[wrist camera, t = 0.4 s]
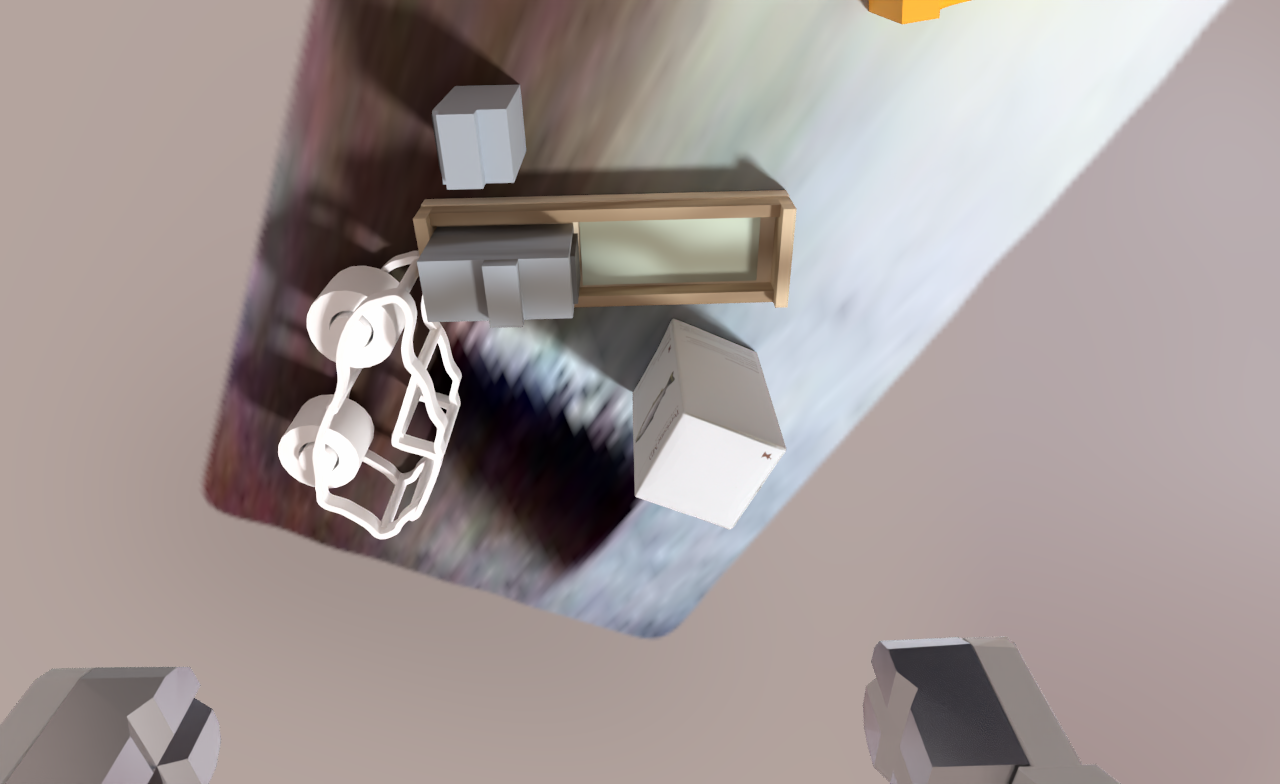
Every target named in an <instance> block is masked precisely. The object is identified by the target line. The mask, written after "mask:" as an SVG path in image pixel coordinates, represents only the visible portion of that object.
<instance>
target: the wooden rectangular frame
mask: <svg viewBox="0 0 1280 784" xmlns="http://www.w3.org/2000/svg"><path fill="white" fill-rule="evenodd" d="M795 219H796V207H795V206H794V204H793V203H792V201H791V199H790V198H789V194H788V193H787V191H786V190H765V191H726V192H687V193H648V194H609V195H570V196H531V197H492V198H453V199H425V200H424V201H423V203H422V204H421V207H420V209H419V210H418V212H417V213H416V215H415V216H414V218H413V223H414V228H415V234H416V239H417V245H418V251H419V256H420V257H419V259H418V261H417V266H418V271H419V277H420V282H421V288H422V293H423V299H424V304H425V309H426V315H427V320H428V322H454V321H489V323H490V328H500V327H523V324H524V320H526V319H562V318H573V312H574V307H605V306H641V305H678V304H714V303H750V302H773V303H774V305H775V308H778V307H787V306H788V295H789V284H790V273H791V262H792V251H793V240H794V230H795Z"/></svg>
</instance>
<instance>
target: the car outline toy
mask: <svg viewBox="0 0 1280 784" xmlns="http://www.w3.org/2000/svg"><path fill="white" fill-rule="evenodd" d="M419 257H420V256H419V251H411V252H408V253H404V254H401V255H397V256H395V257H393V258H391V259H390V260H389V261H388V262H387V263H385V265H384V266H383V267H382V268H381V269H378V268H374V267H369V266H365V265H364V266H351V267H349V268H346V269H344V270H342V271H340V272H339V273H338V274H337V275H336V276H335V277H333V278H332V279H331V281H330V282H329V283H328V285H327V286H326V287H325V288H324V290H323V291H322V292H321V294H320V295H319V296H318V297H317V299H316V300H315V301H314V302H313V304H312V305H311V308H310V310H309V312H308V314H307V330H308V333H309V336H310V339H311V341H312V342H313V344H314V345H315V346H316V348H317V349H318V350H319V351H320V352H321V353H322V354H323V355H325V356H326V357H327V358H328V359H330V360H332V361H334V362H336V368H337V378H338V382H337V388H336V391H335V393H334V395H332V394H330V395H319V396H317V397H314V398H312V399H309V400H308V401H307V402H306V403H305V404H304V405H303V406H302V407H301V409H300V410H299V412H298V413H297V415H296V417H295V418H294V420H293V421H292V423H291V424H290V426H289V428H288V429H287V431H286V432H285V434H284V435H283V437H282V439H281V441H280V443H279V445H278V456H279V458H280V461H281V464H282V466H283V467H284V468H285V469H286V471H287V472H288V473H289V474H290V475H291V476H293V477H294V478H295V479H297V480H298V481H300V482H302V483H304V484H307V485H309V486H312V487H315V490H316V496H317V502H318V504H319V505H320V506H321V507H322V508H324V509H326V510H328V511H331V512H335V513H339V514H341V515H343V516H345V517H347V518H349V519H351V520H353V521H354V522H356V523H358V524H359V525H361V526H363V527H364V528H366V529H367V530H368V531H369V532H370V533H371V534H372V535H373V536H374V537H375V538H378V539H387V538H390V537H393V536H395V535H396V534H398V533H399V532H400V530H401V528H402V526H403V525H404V524H405V523H406V522H407V521H408V520H410V521H414V520H416V519H418V518H419V517H420V515H421V513H422V511H423V509H424V507H425V505H426V503H427V501H428V499H429V496H430V494H431V491H432V489H433V487H434V484H435V482H436V479H437V476H438V473H439V470H440V467H441V464H442V460H443V456H444V454H445V451H446V448H447V445H448V441H449V438H450V435H451V432H452V429H453V426H454V423H455V419H456V416H457V413H458V410H459V407H460V403H461V402H460V397H459V395H458V387H459V383H460V380H461V377H462V376H461V372H460V370H459V368H458V367H457V365H456V364H455V362H454V360H453V357H452V354H451V349H450V344H449V341H448V337H447V335H446V332H445V330H444V329H443V327H442V326H441V324H440V323H439V322H428V320H427V315H426V309H425V304H424V299H423V295H422V301H421V313H422V318H423V321H424V323H425V325H426V326H427V327H428V329H429V330H430V331H429V334H428V336H427V338H426V340H425V343H424V345H423V347H422V349H421V352H420V354H419V356H418V358H417V357H416V356H415V353H414V349H413V334H414V329H415V325H416V319H417V309H416V304H415V301H414V299H413V298H412V296H411V295H410V294H409V293H410V291H411V289H412V287H413V285H414V284H415V282H416V280H417V278H418V276H419V271H418V266H417V261H418V259H419ZM408 264H411V265H410V266H409V268H408V270H407V272H406V273H405V275H404V277H403V278H402V280H401V282H400V283H399V282H398V281H397V280H396V279H395V278H393V277H392V276H391V275H390V274H388V273H389V272H390V271H391V270H393V269H395V268H398V267H401V266H404V265H408ZM404 326H405V330H404V334H403V338H402V346H401V353H402V360H403V363H404V366H405V368H406V369H407V371H408V372H409V373H410V374H411V378H410V381H409V385H408V388H407V391H406V394H405V397H404V401H403V404H402V407H401V411H400V414H399V417H398V420H397V423H396V426H395V429H394V431H393V433H392V446H393V447H396V448H398V449H400V450H403V451H406V452H410V453H413V454H417V455H421V456H424V457H423V458H422V459H421V460H420V461H419V462H418V463H417V464H416V467H415V469H413V470H412V471H410V472H407V473H401V472H400V471H399V470H398V469H397V468H396V467H395V466H394V465H393V464H392V463H390V462H389V461H387V460H386V459H384V458H382V457H381V456H379V455H378V454H376V453H374V452H372V451H371V450H368V448H369V446H370V444H371V442H372V439H373V437H374V425H373V422H372V419H371V417H370V416H369V414H368V413H367V412H366V410H365V409H364V408H363V407H361V406H360V405H359V404H358V403H356V402H355V401H353V400H350V399H349V395H350V391H351V388H352V386H353V384H354V382H355V380H356V379H357V377H358V375H359V373H360V372H361V370H362V368H365V367H371V366H374V365H376V364H379V363H381V362H382V361H383V360H385V359H386V358H387V357H388V356H389V355H390V353H391V351H392V350H393V348H394V346H395V344H396V342H397V340H398V338H399V336H400V334H401V332H402V330H403V328H404ZM437 343H438V345H439V348H440V351H441V355H442V360H443V364H444V367H445V370H446V371H447V373H448V375H449V376H450V377H451V379H452V381H453V382H452V386H451V391H450V394H449V396H447V395H444V394H441V393H437V392H435V390H434V386H433V382H432V380H431V377H430V375H429V373H428V372H427V370H426V369H427V366H428V364H429V362H430V359H431V357H432V354H433V352H434V350H435V347H436V345H437ZM418 401H422V402H425V405H426V408H427V412H428V415H429V417H430V419H431V420H432V422H433V423H434V425H435V426H436V427H437V433H436V438H435V442H434V443H433V442H430V441H427V440H423V439H419V438H416V437H413V436H410V435H406V434H405V433H406V431H407V428H408V426H409V423H410V421H411V419H412V416H413V414H414V411H415V409H416V406H417V404H418ZM440 407H441V408H444V409H446V410H447V412H446V414H445V413H444V412H443V411H442V409H441V408H440ZM362 462H365V463H367V464H368V465H370V466H372V467H374V468H375V469H377V470H378V471H380V472H382V473H383V474H385V475H386V476H387V477H388V478H389V479H390V480H391V481H392V482H393V483H394V484H395V487H394V490H393V492H392V495H391V498H390V500H389V503H388V505H387V508H386V511H385V513H384V516H383V518H382V521H380V520H379V519H378V518H377V517H376V516H375V515H374V514H373V513H371V512H369V511H368V510H366V509H364V508H363V507H361V506H359V505H357V504H356V503H354V502H352V501H350V500H348V499H345V498H342V497H339V496H335V495H333V494H331V493H330V492H329V490H328V488H337V487H339V486H342V485H345V484H347V483H348V482H349V481H351V480H352V479H353V478H354V477H355V475H356V473H357V471H358V470H359V467H360V465H361V463H362ZM421 471H422V473H421ZM420 473H421V475H420V478H419V481H418V484H417V487H416V490H415V493H414V495H413V498H412V501H411V504H410V505H408V506H407V507H406V508H405V509H404V510H403V511H402V512H401V514H400V515H399V517H398V519H397V520H395V521H393V520H394V517H395V515H396V512H397V509H398V506H399V504H400V501H401V498H402V496H403V493H404V490H405V487H406V485H408V484H410V483H412V482H414V481H415V480H416V479H417V478H418V475H419V474H420Z"/></svg>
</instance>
